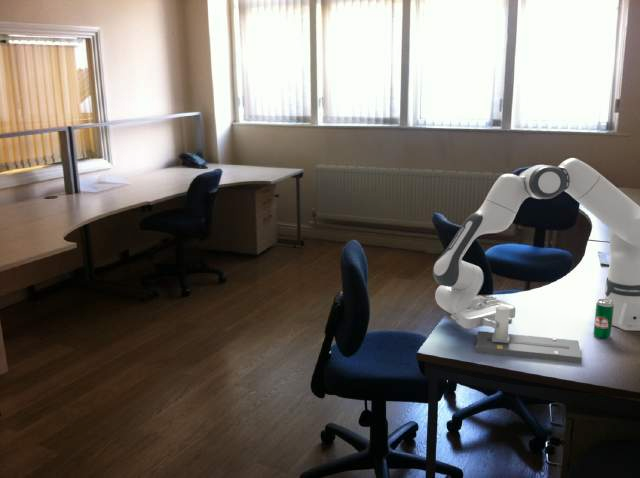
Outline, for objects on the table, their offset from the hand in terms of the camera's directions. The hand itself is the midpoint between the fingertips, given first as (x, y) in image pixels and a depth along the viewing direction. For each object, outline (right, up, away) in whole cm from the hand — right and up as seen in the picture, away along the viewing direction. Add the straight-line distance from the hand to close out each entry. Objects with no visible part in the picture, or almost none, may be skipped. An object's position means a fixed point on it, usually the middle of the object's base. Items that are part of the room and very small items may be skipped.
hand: (503, 323), depth 194 cm
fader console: (+7, -8, +1) cm, 11 cm away
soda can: (+34, -5, +9) cm, 35 cm away
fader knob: (0, -5, +2) cm, 5 cm away
